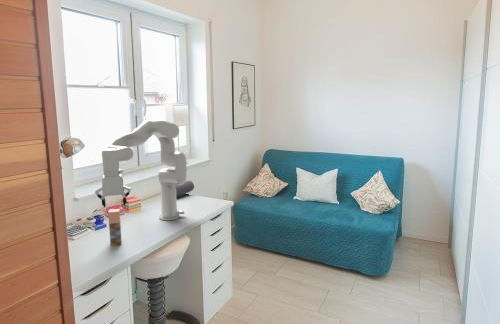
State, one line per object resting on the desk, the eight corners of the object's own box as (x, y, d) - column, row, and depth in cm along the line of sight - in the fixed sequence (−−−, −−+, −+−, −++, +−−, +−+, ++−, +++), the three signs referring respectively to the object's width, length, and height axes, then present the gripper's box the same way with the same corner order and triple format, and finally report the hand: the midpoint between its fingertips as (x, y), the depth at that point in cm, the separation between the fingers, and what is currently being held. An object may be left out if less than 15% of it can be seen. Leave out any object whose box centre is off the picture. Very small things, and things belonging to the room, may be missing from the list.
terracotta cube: (120, 219, 189) (119, 208, 188) (119, 222, 185) (118, 211, 184) (110, 220, 188) (109, 209, 187) (109, 223, 183) (108, 212, 182)
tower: (121, 241, 192) (120, 219, 189) (120, 245, 187) (119, 222, 185) (111, 242, 190) (110, 220, 188) (110, 246, 185) (109, 223, 183)
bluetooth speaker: (185, 191, 291) (185, 179, 290) (194, 193, 287) (194, 180, 285) (165, 198, 272) (165, 185, 270) (175, 199, 268) (174, 186, 266)
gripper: (130, 170, 188) (132, 201, 191) (94, 172, 183) (97, 204, 187) (129, 173, 180) (132, 206, 184) (92, 176, 176) (95, 209, 180)
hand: (114, 205), depth 185 cm, fingers open, 9 cm apart
